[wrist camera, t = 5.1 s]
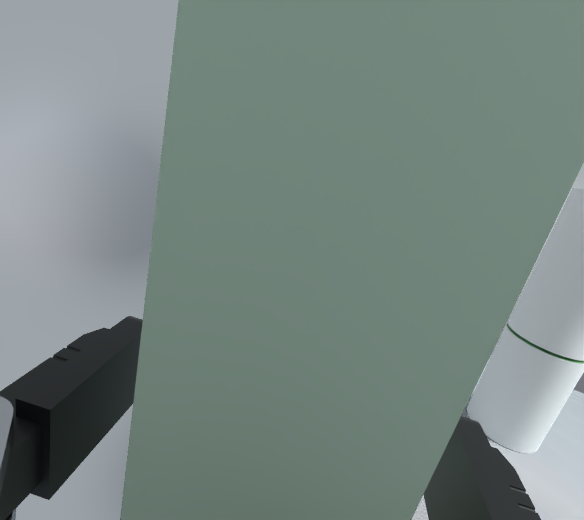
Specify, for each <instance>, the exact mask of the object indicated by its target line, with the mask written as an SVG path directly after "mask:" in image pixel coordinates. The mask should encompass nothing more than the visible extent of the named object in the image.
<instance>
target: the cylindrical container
mask: <svg viewBox="0 0 584 520" xmlns="http://www.w3.org/2000/svg"><path fill="white" fill-rule="evenodd" d="M583 372H584V190H582V189H574V188H573V189H572V191H571V193H570V195H569V197H568V199H567V201H566V203H565V205H564V208H563V210H562V211H561V214H560V216H559V218H558V220H557V222H556V224H555V226H554V228H553V230H552V232H551V234H550V236H549V238H548V240H547V242H546V245H545V247H544V249H543V251H542V253H541V255H540V257H539V259H538V261H537V263H536V265H535V267H534V269H533V271H532V273H531V276H530V278H529V280H528V282H527V284H526V286H525V288H524V290H523V292H522V294H521V296H520V298H519V300H518V303H517V305H516V307H515V309H514V311H513V313H512V315H511V317H510V319H509V321H508V323H507V325H506V328H505V329H504V331H503V333H502V336H501V337H500V340H499V342H498V344H497V346H496V348H495V350H494V352H493V354H492V356H491V358H490V360H489V362H488V364H487V366H486V368H485V371H484V373H483V375H482V377H481V379H480V381H479V383H478V385H477V387H476V389H475V391H474V393H473V395H472V397H471V399H470V402H469V404H468V406H467V413H468V416H469V418H470V419H472V420H475V421H477V422H479V423H480V425H481V427H482V429H483V431H484V433H485V435H486V436H487V437H489V438H490V439H492V440H493V441H495V442H496V443H498V444H500V445H502V446H504V447H506V448H508V449H511V450H513V451H517V452H520V453H533V452H536V451H537V450H538V448H539V446H540V445H541V443H542V441H543V440H544V438H545V436H546V435H547V433H548V431H549V430H550V428H551V426H552V424H553V423H554V421H555V419H556V418H557V416H558V414H559V413H560V411H561V409H562V408H563V406H564V404H565V402H566V401H567V399H568V397H569V396H570V394H571V392H572V391H573V389H574V387H575V386H576V384H577V382H578V380H579V379H580V377H581V375H582V374H583Z"/></svg>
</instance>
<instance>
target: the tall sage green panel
mask: <svg viewBox="0 0 584 520" xmlns="http://www.w3.org/2000/svg"><path fill="white" fill-rule="evenodd" d="M583 162H584V0H179V3H178V12H177V21H176V30H175V38H174V47H173V56H172V65H171V74H170V84H169V92H168V101H167V110H166V119H165V127H164V136H163V145H162V154H161V163H160V172H159V181H158V190H157V198H156V207H155V216H154V225H153V234H152V243H151V252H150V260H149V270H148V278H147V287H146V296H145V305H144V314H143V322H142V331H141V340H140V349H139V358H138V367H137V376H136V385H135V393H134V402H133V411H132V421H131V430H130V438H129V447H128V456H127V465H126V474H125V482H124V491H123V501H122V509H121V518H120V520H411V519H412V517H413V515H414V513H415V511H416V508H417V506H418V504H419V502H420V500H421V498H422V496H423V494H424V492H425V490H426V488H427V486H428V484H429V482H430V479H431V477H432V475H433V473H434V471H435V469H436V467H437V465H438V463H439V461H440V459H441V457H442V455H443V452H444V450H445V448H446V446H447V444H448V442H449V440H450V438H451V436H452V434H453V432H454V430H455V428H456V426H457V423H458V421H459V419H460V417H461V415H462V413H463V411H464V409H465V407H466V405H467V403H468V401H469V399H470V397H471V394H472V392H473V390H474V388H475V386H476V384H477V382H478V380H479V378H480V376H481V374H482V372H483V370H484V368H485V365H486V363H487V361H488V359H489V357H490V355H491V353H492V351H493V349H494V346H495V345H496V342H497V341H498V338H499V336H500V334H501V332H502V330H503V328H504V326H505V324H506V322H507V320H508V318H509V315H510V313H511V312H512V309H513V307H514V305H515V303H516V301H517V299H518V297H519V295H520V293H521V291H522V289H523V287H524V284H525V283H526V280H527V278H528V276H529V274H530V272H531V270H532V268H533V266H534V264H535V262H536V260H537V258H538V255H539V253H540V251H541V249H542V247H543V245H544V243H545V241H546V239H547V237H548V235H549V232H550V231H551V229H552V227H553V224H554V222H555V220H556V218H557V216H558V214H559V212H560V210H561V208H562V206H563V204H564V202H565V200H566V198H567V195H568V193H569V191H570V189H571V187H572V185H573V183H574V181H575V179H576V177H577V175H578V173H579V171H580V169H581V166H582V164H583Z"/></svg>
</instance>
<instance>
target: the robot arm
mask: <svg viewBox="0 0 584 520" xmlns="http://www.w3.org/2000/svg"><path fill="white" fill-rule="evenodd" d="M142 322H143V320H142V319H138V318H135V317H132V316H128V317H126V318H125V319H123V320H122V321H120V322H119V323H118V324H116V325H115V326H114V327H112V328H111V329H106V328H102V329H99V330H96V331H93V332H90V333H87V334H84V335H83V336H81V337H79V338H78V339H77V340H75V341H74V342H72V343H71V344H69V345H68V346H67V348H63V349H62V350H60V351H59V352H57V353H56V354H54V356H53V358H49V359H47V360H46V361H44V362H43V363H41V364H40V365H38V366H37V367H36V368H34V369H33V370H31V371H29V372H28V373H27V374H25V375H24V376H22V377H21V378H19V379H18V380H16V381H15V382H13V383H12V384H10V385H9V386H7V387H6V388H4V389H3V390H2V391H0V520H15V515H16V508H17V506H18V505H19V504H20V503H21V502H22V501H23V500H24V499H25V498H26V497H27V496H28V495H29V494H30V493H31V494H34V495H37V496H40V497H42V498H45V499H48V500H49V499H50V498H51V497H52V496H53V495H54V494H55V492H56V491H57V490H58V489H59V488H60V486H62V484H63V483H64V482H65V481H66V480H67V479H68V477H69V476H70V475H71V474H72V473H73V472H74V471H75V469H76V468H77V467H78V466H79V465H80V463H81V462H82V461H83V460H84V459H85V458H86V457H87V456H88V455H89V453H90V452H91V451H92V450H93V449H94V448H95V447H96V445H97V444H98V443H99V442H100V441H101V440H102V438H103V437H104V436H105V435H106V434H107V433H108V432H109V430H110V429H111V428H112V427H113V426H114V425H115V423H116V422H117V421H118V420H119V419H120V418H121V417H122V416H123V414H124V413H125V412H126V411H127V410H128V409H129V407H130V406H131V405H132V404H133V402H134V393H135V385H136V376H137V367H138V358H139V349H140V340H141V331H142ZM525 491H526V490H525V488H524V486H523V484H522V482H521V480H520V478H519V476H518V474H517V472H516V470H515V469H514V467H513V466H512V465H511V464H510V463H509V462H508V461H507V459H506V458H505V457H504V456H503V455H502V454H501V452H500V451H499V450H498V449H497V448H493V447H491V446H490V444H489V441H488V439H487V437H486V435H485V433H484V431H483V429H482V427H481V425H480V423H479V422H477V421H475V420H472V419H468V418H465V417H462V416H461V417H460V419H459V421H458V423H457V426H456V428H455V430H454V432H453V434H452V436H451V438H450V440H449V442H448V444H447V446H446V448H445V450H444V452H443V455H442V457H441V459H440V461H439V463H438V465H437V467H436V469H435V471H434V473H433V475H432V477H431V479H430V482H429V484H428V486H427V488H426V490H425V492H424V499H425V503H426V508H427V513H428V518H429V520H541V519H540V517H539V515H538V513H535V507H534V505H533V503H532V501H531V499H530V497H529V495H528V494H526V493H525Z"/></svg>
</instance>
